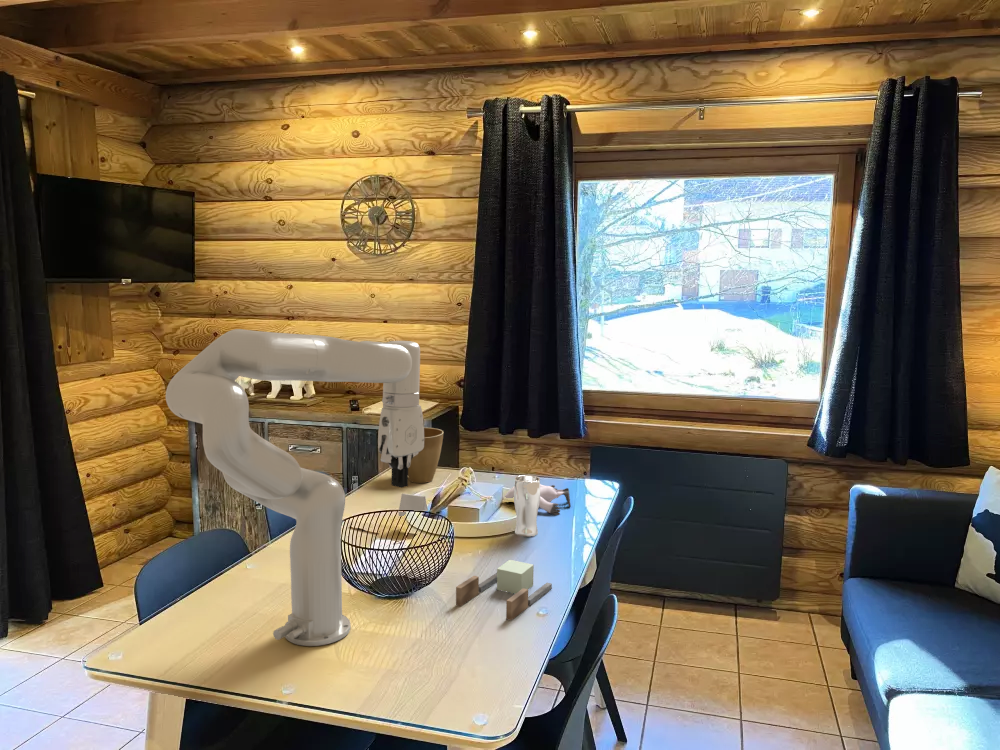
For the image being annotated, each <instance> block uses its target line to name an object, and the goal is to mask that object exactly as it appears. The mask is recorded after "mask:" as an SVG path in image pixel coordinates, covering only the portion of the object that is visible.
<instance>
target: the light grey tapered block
mask: <svg viewBox="0 0 1000 750" xmlns="http://www.w3.org/2000/svg"><path fill="white" fill-rule="evenodd" d="M399 510H414V511H428V512H429V509H428V504H427V499H426V496H424V495H416V494H411V493H410V494H409V493H401V496H400V503H399V507H398V517H399V516H404V515H405V514H406V512H399Z"/></svg>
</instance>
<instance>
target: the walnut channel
mask: <svg viewBox="0 0 1000 750" xmlns="http://www.w3.org/2000/svg"><path fill="white" fill-rule="evenodd" d="M479 579H480V578H479V576H478V575H473V576H470V578H468V579H466V580H464V581H463V582H461V584H458V585H457V586H455V587H456V588H455V605H456V606H458V607H462V606H463V605H465V604H466V603H468V602H470V601H471V600H472V599H474V598H475V597H477V596H478V595H479V593H480V592H479V584H480V583H479V581H480V580H479ZM528 597H529V590H528V589H525V588H523V589H521V590H520V591H519V592H517V593H516V594H513V595H512V596H511V597H509V598H507V599H506V603H505V604H506V608H505V609H506V610H505V611H506V612H505V619H506V620H509V621H513V620H514V619H515V618H517V617H518V616H519V615H520V614H522V613H523V612H524V611H525V610H527V609H528V608H529V605H528ZM521 612H522V613H521Z"/></svg>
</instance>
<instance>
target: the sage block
mask: <svg viewBox="0 0 1000 750" xmlns="http://www.w3.org/2000/svg"><path fill="white" fill-rule="evenodd" d="M534 566H535V565H534V564H532V563H528V562H524V561H517V560H513V559H509V560H507V561H506V562H504V563H503V564H502V565H500V566H499V567H497V569H496V573H497V582H496V590H497V591H500V590H502V591H501V592H504V591H507V592H506V593H508V592H511V593H510V594H513V593H515V594H516V593H517V592H519V591H520V590H521V589H523V588H525V589H529V588H530V587H531V588H532V587H533V586H534V571H535V569H534ZM531 588H530V589H531ZM530 589H529V590H530Z"/></svg>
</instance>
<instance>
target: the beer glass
mask: <svg viewBox="0 0 1000 750" xmlns="http://www.w3.org/2000/svg"><path fill="white" fill-rule="evenodd" d="M540 480H541V479H540V477H539V476H536V475H533V474H532V475H531V474H524V475H517V476H515V477H514V486H513V487H514V508H515V516H516V524H515V530H514V534H515V535H516V536H519V537H522V536H523V538H532V537H535V535H536V536H537V535H538V533H539V531H538V525H537V521H538V520H537V518H538V513H539V512H538V511H539V508H540V507H539V503H540V484H541V481H540ZM531 536H532V537H531Z"/></svg>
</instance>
